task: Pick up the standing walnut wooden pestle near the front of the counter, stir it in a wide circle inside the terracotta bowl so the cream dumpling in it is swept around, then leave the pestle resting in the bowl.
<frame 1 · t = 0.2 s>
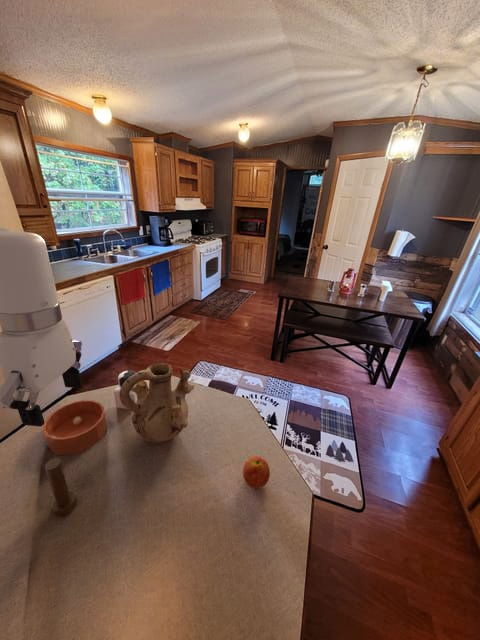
hand: (56, 403, 46), 31 cm above the kitchen counter, tool pointing down, fingers open, 9 cm apart
dumpling: (77, 420, 79), point 2 cm above the kitchen counter, touching bowl
ceramic vessel: (166, 433, 79), on the kitchen counter
fruit: (254, 481, 67), on the kitchen counter
pestle: (65, 506, 58), on the kitchen counter
bowl: (78, 432, 77), on the kitchen counter
medicine bottle: (130, 402, 90), on the kitchen counter
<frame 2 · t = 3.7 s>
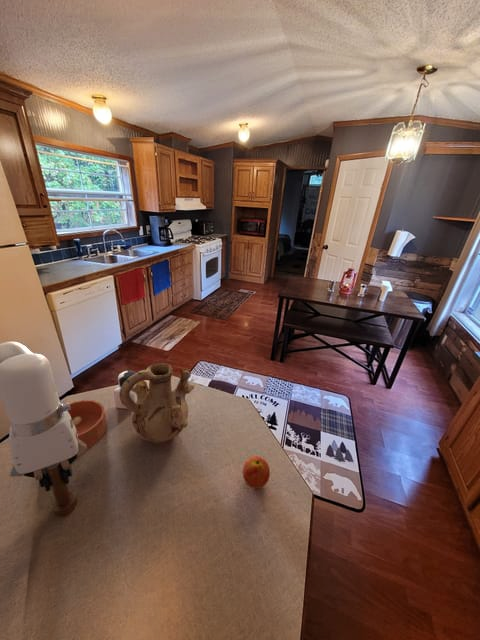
hand: (57, 481, 55), 9 cm above the kitchen counter, tool pointing down, fingers closed on pestle, 2 cm apart
pestle: (65, 506, 58), on the kitchen counter, touching gripper
everything else where it was.
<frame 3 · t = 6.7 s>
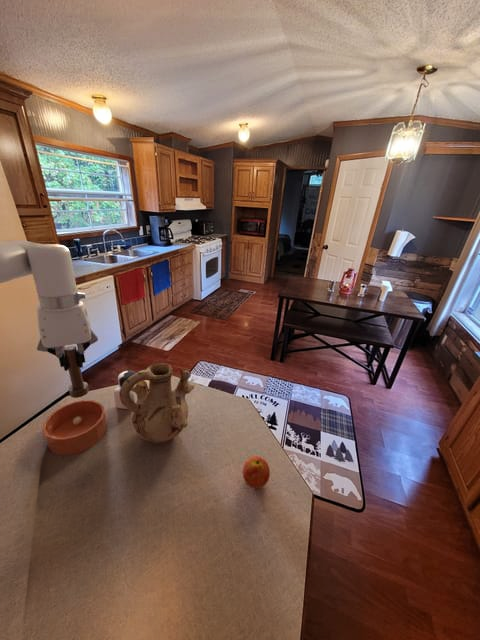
hand: (73, 366, 66), 25 cm above the kitchen counter, tool pointing down, fingers closed on pestle, 2 cm apart
pestle: (79, 392, 69), point 16 cm above the kitchen counter, touching gripper
everything else where it was.
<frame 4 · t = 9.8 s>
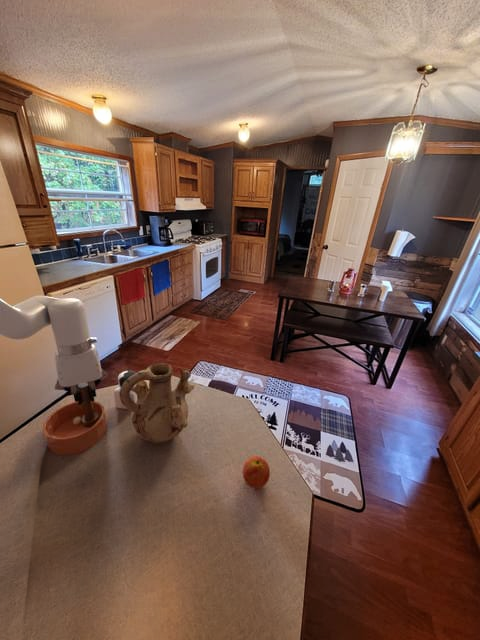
hand: (86, 400, 74), 11 cm above the kitchen counter, tool pointing down, fingers closed on pestle, 2 cm apart
pestle: (91, 422, 77), point 3 cm above the kitchen counter, touching gripper
everything else where it was.
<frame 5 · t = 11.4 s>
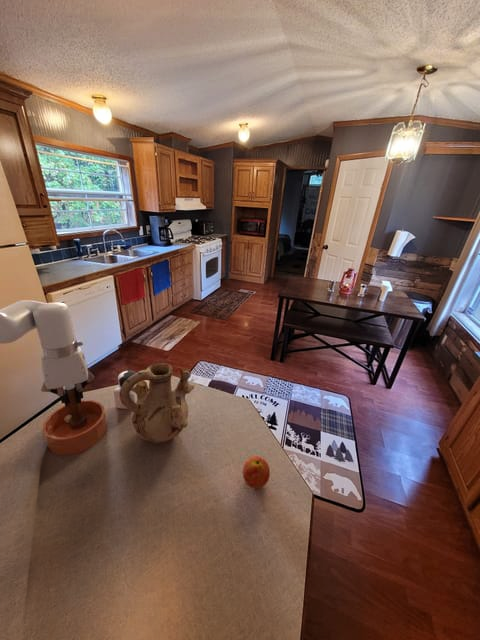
hand: (73, 401, 75), 9 cm above the kitchen counter, tool pointing down, fingers closed on pestle, 2 cm apart
dumpling: (68, 418, 79), point 2 cm above the kitchen counter, tilted 141°, touching bowl, pestle
pestle: (78, 423, 79), point 1 cm above the kitchen counter, touching dumpling, gripper
everything else where it was.
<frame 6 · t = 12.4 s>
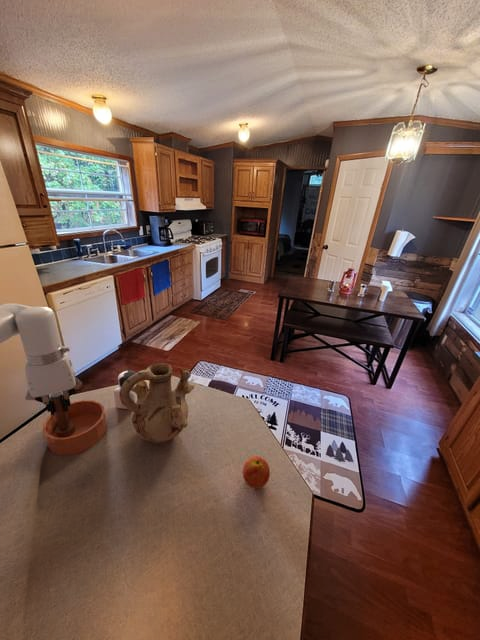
hand: (60, 409, 72), 9 cm above the kitchen counter, tool pointing down, fingers closed on pestle, 2 cm apart
dumpling: (62, 422, 77), point 2 cm above the kitchen counter, tilted 145°, touching bowl
pestle: (66, 432, 75), point 1 cm above the kitchen counter, touching gripper
everything else where it was.
when the fingers open (9 cm above the kitchen counter, at t = 15.9 s): pestle stays where it is, resting on bowl.
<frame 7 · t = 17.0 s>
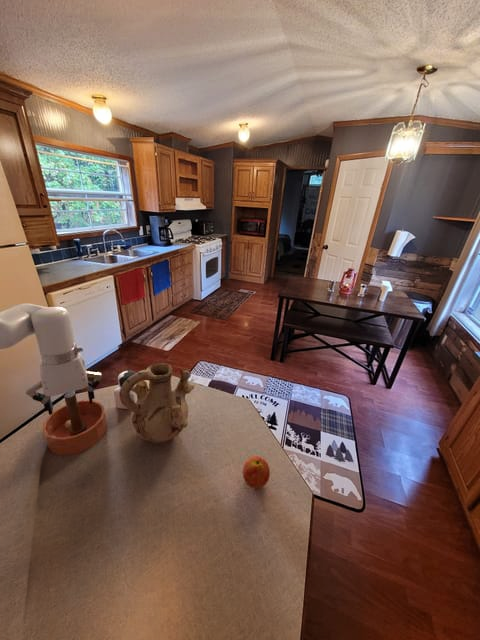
hand: (71, 405, 72), 10 cm above the kitchen counter, tool pointing down, fingers open, 9 cm apart
dumpling: (69, 424, 77), point 2 cm above the kitchen counter, tilted 76°, touching bowl
pestle: (78, 431, 76), point 1 cm above the kitchen counter, touching bowl
everything else where it was.
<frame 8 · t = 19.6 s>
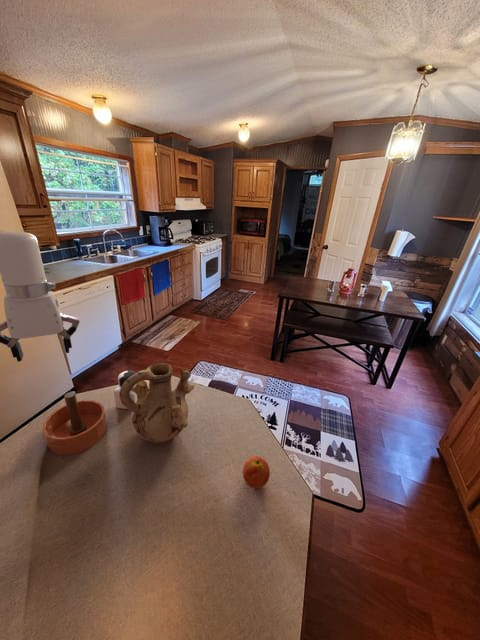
hand: (45, 354, 64), 28 cm above the kitchen counter, tool pointing down, fingers open, 9 cm apart
dumpling: (70, 424, 77), point 2 cm above the kitchen counter, tilted 67°, touching bowl
everything else where it was.
at the end: dumpling moved 1.9 cm from its start; dumpling inside the target area in the bowl (3.4 cm from its centre), point 1.8 cm above the bowl's base; pestle inside the target area in the bowl (0.2 cm from its centre), point 0.6 cm above the bowl's base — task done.
